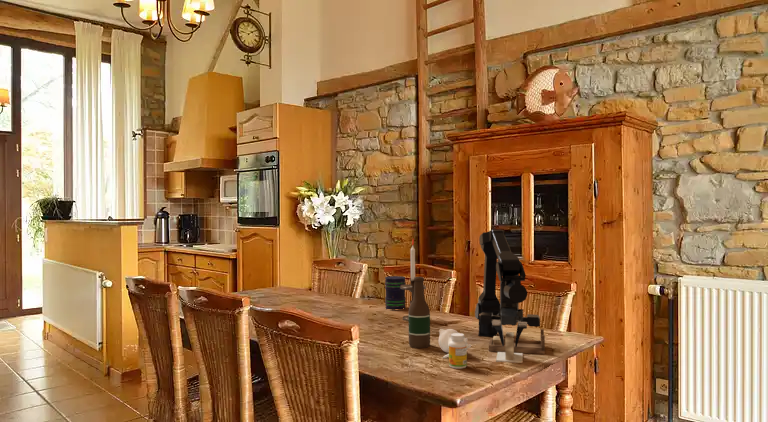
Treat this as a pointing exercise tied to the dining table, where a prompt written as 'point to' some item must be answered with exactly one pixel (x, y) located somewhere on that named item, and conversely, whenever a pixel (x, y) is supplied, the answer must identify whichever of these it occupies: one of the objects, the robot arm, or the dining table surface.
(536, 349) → the rack
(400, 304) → the storage jar
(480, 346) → the dining table surface
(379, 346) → the dining table surface
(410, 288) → the candlestick
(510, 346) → the birch sheet
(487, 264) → the robot arm
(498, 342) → the offcut stack
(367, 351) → the dining table surface
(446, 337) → the cat figurine
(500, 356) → the felt pad
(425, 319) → the beer bottle
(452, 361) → the supplement bottle
